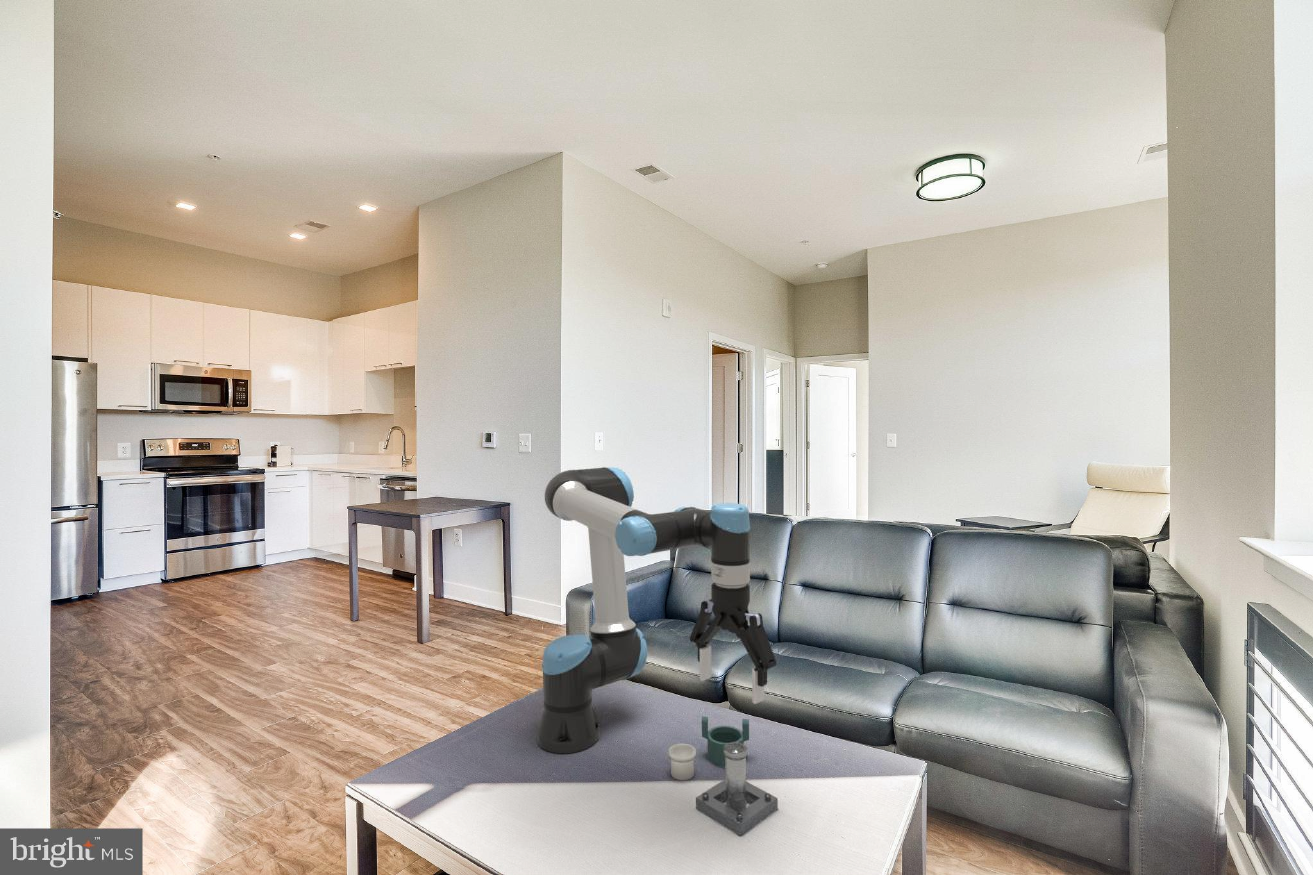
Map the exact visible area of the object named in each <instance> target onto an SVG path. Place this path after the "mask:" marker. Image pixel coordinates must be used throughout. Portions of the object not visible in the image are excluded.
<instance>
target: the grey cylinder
mask: <svg viewBox="0 0 1313 875" xmlns="http://www.w3.org/2000/svg"><path fill="white" fill-rule="evenodd" d="M724 756H725V767H724V768H725V779H726V801H725V805H726V806H728V807H730V808H732V809H733V810H735V811H737V812H738V813H739V812H741V811H742V810H744V809H745V808H746V807H748V806H747V801H746V781H747V757H748V747H747V746H746V745H745V744H744V745H743V744H741V743H728V744H726V745H725V746H724Z"/></svg>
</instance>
